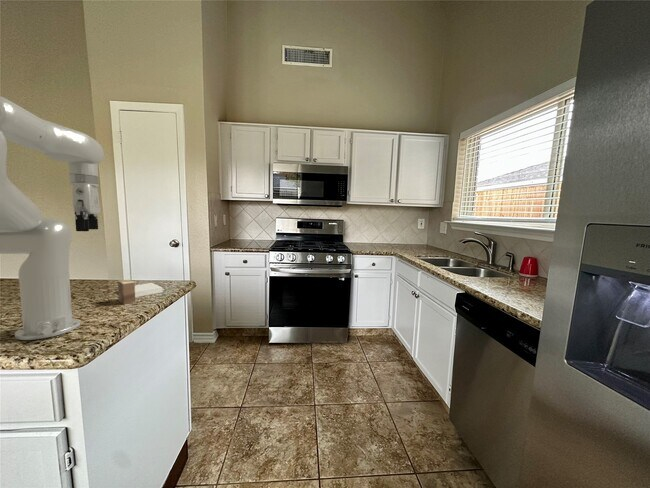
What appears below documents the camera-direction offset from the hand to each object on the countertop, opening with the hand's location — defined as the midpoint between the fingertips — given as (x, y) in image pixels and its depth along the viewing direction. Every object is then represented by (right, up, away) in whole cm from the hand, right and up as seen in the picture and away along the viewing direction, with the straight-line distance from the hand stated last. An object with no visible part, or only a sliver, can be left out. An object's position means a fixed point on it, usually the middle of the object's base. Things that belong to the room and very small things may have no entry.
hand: (87, 230), depth 92 cm
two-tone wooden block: (+9, -27, +7) cm, 29 cm away
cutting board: (+5, -26, +19) cm, 32 cm away
